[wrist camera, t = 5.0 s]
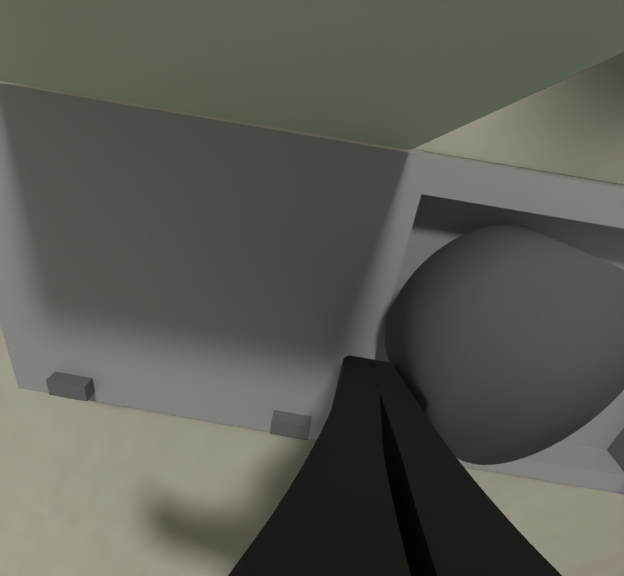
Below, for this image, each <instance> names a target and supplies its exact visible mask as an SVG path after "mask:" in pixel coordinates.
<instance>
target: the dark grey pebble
mask: <svg viewBox="0 0 624 576" xmlns="http://www.w3.org/2000/svg"><path fill="white" fill-rule="evenodd" d="M385 349H386V353H387V357H388V360H389V362H391V363H393V365H394V366H395V368H396V369H397V371H398V372H399V374H400V375H401V377H402V379H403V380H404V382H405V383H406V385H407V387H408V388H409V390H410V391H411V393H412V394H413V396H414V398H415V399H416V401H417V402H418V404H419V405H420V407H421V408H422V410H423V411H424V413H425V414H426V416H427V417H428V419H429V420H430V422H431V423H432V425H433V426H434V427H435V429H436V430H437V432H438V433H439V435H440V436H441V438H442V439H443V440H444V442H445V443H446V444H447V446H448V447H449V449H450V450H451V451H452V453H453V454H454V455H455V456H456V458H458V459H460V460H462V461H464V462H467V463H471V464H477V465H495V464H502V463H507V462H512V461H516V460H519V459H522V458H525V457H528V456H531V455H533V454H536V453H538V452H540V451H542V450H544V449H547V448H549V447H551V446H553V445H554V444H556V443H558V442H560V441H562V440H563V439H565V438H567V437H568V436H570V435H571V434H573V433H575V432H576V431H577V430H579V429H580V428H582V427H583V426H585V425H586V424H587V423H588V422H590V421H591V420H592V419H594V418H595V417H596V416H597V415H598V414H600V413H601V412H602V411H603V410H604V409H605V408H606V407H608V406H609V405H610V404H611V403H612V402H613V401H614V400H615V399H616V398H617V397H618V396H619V395H620V394H621V392H622V391H623V390H624V270H623V269H621V268H619V267H617V266H614V265H612V264H610V263H608V262H605V261H603V260H601V259H599V258H596V257H594V256H592V255H590V254H587V253H585V252H583V251H581V250H578V249H576V248H574V247H572V246H569V245H567V244H565V243H563V242H560V241H558V240H556V239H554V238H551V237H549V236H547V235H545V234H542V233H540V232H538V231H536V230H533V229H531V228H528V227H525V226H522V225H515V224H498V225H491V226H486V227H483V228H479V229H476V230H473V231H471V232H468V233H466V234H464V235H461V236H460V237H458V238H456V239H454V240H452V241H451V242H449V243H447V244H446V245H444V246H443V247H442V248H440V249H439V250H437V251H436V252H435V253H434V254H432V255H431V256H430V257H429V258H428V259H426V260H425V261H424V262H423V263H422V264H421V265H420V266H419V267H418V268H417V270H416V271H415V272H414V273H413V274H412V275H411V277H410V278H409V279H408V280H407V282H406V283H405V285H404V286H403V288H402V289H401V291H400V292H399V294H398V296H397V298H396V300H395V302H394V304H393V306H392V308H391V311H390V314H389V317H388V320H387V325H386V329H385Z"/></svg>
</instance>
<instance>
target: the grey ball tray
mask: <svg viewBox="0 0 624 576" xmlns="http://www.w3.org/2000/svg"><path fill="white" fill-rule="evenodd" d="M498 224H515V225H522V226H525V227H528V228H531V229H533V230H536V231H538V232H540V233H542V234H545V235H547V236H549V237H551V238H554V239H556V240H558V241H560V242H563V243H565V244H567V245H569V246H572V247H574V248H576V249H578V250H581V251H583V252H585V253H587V254H590V255H592V256H594V257H596V258H599V259H601V260H603V261H605V262H608V263H610V264H612V265H614V266H617V267H619V268H621V269H623V270H624V185H622V184H616V183H610V182H604V181H598V180H592V179H586V178H580V177H574V176H568V175H563V174H557V173H551V172H545V171H539V170H533V169H527V168H521V167H515V166H509V165H503V164H498V163H492V162H486V161H480V160H474V159H468V158H462V157H456V156H450V155H444V154H438V153H433V152H427V151H421V150H415V149H411V150H406V149H400V148H394V147H388V146H382V145H376V144H370V143H364V142H358V141H353V140H347V139H341V138H335V137H329V136H323V135H317V134H311V133H305V132H299V131H294V130H288V129H282V128H276V127H270V126H264V125H258V124H252V123H246V122H240V121H234V120H229V119H223V118H217V117H211V116H205V115H199V114H193V113H187V112H181V111H175V110H169V109H164V108H158V107H152V106H146V105H140V104H134V103H128V102H122V101H116V100H110V99H105V98H99V97H93V96H87V95H81V94H75V93H69V92H63V91H57V90H51V89H45V88H40V87H34V86H28V85H22V84H16V83H10V82H4V81H0V324H1V328H2V331H3V335H4V338H5V342H6V345H7V349H8V352H9V356H10V359H11V363H12V366H13V369H14V373H15V376H16V380H17V383H18V387H19V388H23V389H28V390H34V391H40V392H45V393H49V395H54V396H60V397H65V398H71V399H77V400H82V401H88V400H91V401H96V402H102V403H108V404H113V405H119V406H125V407H130V408H136V409H142V410H147V411H153V412H159V413H164V414H170V415H176V416H181V417H187V418H193V419H198V420H204V421H210V422H215V423H221V424H227V425H232V426H238V427H244V428H249V429H255V430H261V431H266V432H270V434H275V435H281V436H286V437H292V438H298V439H303V440H308V439H312V440H317V439H318V437H319V435H320V433H321V430H322V428H323V426H324V424H325V422H326V420H327V418H328V416H329V413H330V411H331V408H332V404H333V400H334V396H335V392H336V388H337V383H338V379H339V375H340V371H341V366H342V362H343V358H345V357H346V356H348V355H351V356H356V357H362V358H368V359H374V360H379V361H385V362H389V360H388V357H387V353H386V349H385V329H386V325H387V320H388V317H389V314H390V311H391V308H392V306H393V304H394V302H395V300H396V298H397V296H398V294H399V292H400V291H401V289H402V288H403V286H404V285H405V283H406V282H407V280H408V279H409V278H410V277H411V275H412V274H413V273H414V272H415V271H416V270H417V268H418V267H419V266H420V265H421V264H422V263H423V262H424V261H425V260H426V259H428V258H429V257H430V256H431V255H432V254H434V253H435V252H436V251H437V250H439V249H440V248H442V247H443V246H444V245H446V244H447V243H449V242H451V241H452V240H454V239H456V238H458V237H460V236H461V235H464V234H466V233H468V232H471V231H473V230H476V229H479V228H483V227H486V226H491V225H498ZM457 459H458V458H457ZM458 460H459V462H460V463H461V464H462V465H463V466H465V467H470V468H476V469H482V470H487V471H493V472H499V473H504V474H510V475H516V476H521V477H527V478H533V479H538V480H544V481H550V482H555V483H561V484H567V485H572V486H578V487H584V488H589V489H595V490H601V491H606V492H612V493H618V494H623V495H624V390H623V391H622V392H621V394H620V395H619V396H618V397H617V398H616V399H615V400H614V401H613V402H612V403H611V404H610V405H609V406H608V407H606V408H605V409H604V410H603V411H602V412H601V413H600V414H598V415H597V416H596V417H595V418H594V419H592V420H591V421H590V422H588V423H587V424H586V425H585V426H583V427H582V428H580V429H579V430H577V431H576V432H575V433H573V434H571V435H570V436H568V437H567V438H565V439H563V440H562V441H560V442H558V443H556V444H554V445H553V446H551V447H549V448H547V449H544V450H542V451H540V452H538V453H536V454H533V455H531V456H528V457H525V458H522V459H519V460H516V461H512V462H507V463H502V464H495V465H477V464H471V463H467V462H464V461H462V460H460V459H458Z"/></svg>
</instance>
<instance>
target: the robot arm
mask: <svg viewBox="0 0 624 576" xmlns="http://www.w3.org/2000/svg"><path fill="white" fill-rule="evenodd" d="M228 576H562V575H561V574H560V573H559V572H558V571H557V570H556V569H555V568H554V567H553V566H552V565H551V564H550V563H549V562H548V561H547V560H546V559H545V558H544V557H543V556H542V555H541V554H540V553H539V552H538V551H537V550H536V549H535V548H534V547H533V546H532V545H531V544H530V543H529V542H528V541H527V539H526V538H525V537H524V536H523V535H522V534H521V533H520V532H519V531H518V530H517V529H516V528H515V527H514V525H513V524H512V523H511V522H510V521H509V520H508V519H507V518H506V517H505V515H504V514H503V513H502V512H501V511H500V510H499V509H498V507H497V506H496V505H495V504H494V503H493V502H492V501H491V499H490V498H489V497H488V496H487V495H486V494H485V493H484V491H483V490H482V489H481V488H480V487H479V485H478V484H477V483H476V482H475V481H474V479H473V478H472V477H471V476H470V474H469V473H468V472H467V471H466V469H465V468H464V467H463V465H462V464H461V463H460V462H459V460H458V459H457V458H456V456H455V455H454V454H453V453H452V451H451V450H450V449H449V447H448V446H447V444H446V443H445V442H444V440H443V439H442V438H441V436H440V435H439V433H438V432H437V430H436V429H435V427H434V426H433V425H432V423H431V422H430V420H429V419H428V417H427V416H426V414H425V413H424V411H423V410H422V408H421V407H420V405H419V404H418V402H417V401H416V399H415V398H414V396H413V394H412V393H411V391H410V390H409V388H408V387H407V385H406V383H405V382H404V380H403V379H402V377H401V375H400V374H399V372H398V371H397V369H396V368H395V366H394V365H393V363H391V362H385V361H379V360H374V359H368V358H362V357H356V356H351V355H348V356H346V357H345V358H343V362H342V366H341V371H340V375H339V379H338V383H337V388H336V392H335V396H334V400H333V404H332V408H331V411H330V413H329V416H328V418H327V420H326V422H325V424H324V426H323V428H322V430H321V433H320V435H319V437H318V439H317V441H316V443H315V445H314V447H313V448H312V450H311V452H310V454H309V456H308V458H307V459H306V461H305V463H304V465H303V466H302V468H301V470H300V472H299V473H298V475H297V477H296V478H295V480H294V482H293V483H292V485H291V486H290V488H289V490H288V491H287V493H286V494H285V496H284V497H283V499H282V500H281V502H280V504H279V505H278V507H277V508H276V510H275V511H274V513H273V514H272V516H271V517H270V519H269V520H268V522H267V523H266V524H265V526H264V527H263V529H262V530H261V532H260V533H259V534H258V536H257V537H256V538H255V540H254V541H253V542H252V544H251V545H250V547H249V548H248V549H247V551H246V552H245V553H244V555H243V556H242V557H241V559H240V560H239V562H238V563H237V564H236V566H235V567H234V568H233V570H232V571H231V572H230V574H229V575H228Z"/></svg>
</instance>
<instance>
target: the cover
mask: <svg viewBox="0 0 624 576" xmlns="http://www.w3.org/2000/svg"><path fill="white" fill-rule="evenodd" d="M623 52H624V0H0V81H4V82H10V83H16V84H22V85H28V86H34V87H40V88H45V89H51V90H57V91H63V92H69V93H75V94H81V95H87V96H93V97H99V98H105V99H110V100H116V101H122V102H128V103H134V104H140V105H146V106H152V107H158V108H164V109H169V110H175V111H181V112H187V113H193V114H199V115H205V116H211V117H217V118H223V119H229V120H234V121H240V122H246V123H252V124H258V125H264V126H270V127H276V128H282V129H288V130H294V131H299V132H305V133H311V134H317V135H323V136H329V137H335V138H341V139H347V140H353V141H358V142H364V143H370V144H376V145H382V146H388V147H394V148H400V149H406V150H411V149H413V148H415V147H418V146H420V145H422V144H424V143H426V142H429V141H431V140H433V139H435V138H437V137H439V136H442V135H444V134H446V133H448V132H450V131H453V130H455V129H457V128H459V127H461V126H464V125H466V124H468V123H470V122H472V121H475V120H477V119H479V118H481V117H483V116H485V115H488V114H490V113H492V112H494V111H496V110H499V109H501V108H503V107H505V106H507V105H510V104H512V103H514V102H516V101H518V100H520V99H523V98H525V97H527V96H529V95H531V94H534V93H536V92H538V91H540V90H542V89H545V88H547V87H549V86H551V85H553V84H555V83H558V82H560V81H562V80H564V79H566V78H569V77H571V76H573V75H575V74H577V73H580V72H582V71H584V70H586V69H588V68H591V67H593V66H595V65H597V64H599V63H601V62H604V61H606V60H608V59H610V58H612V57H615V56H617V55H619V54H621V53H623Z"/></svg>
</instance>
